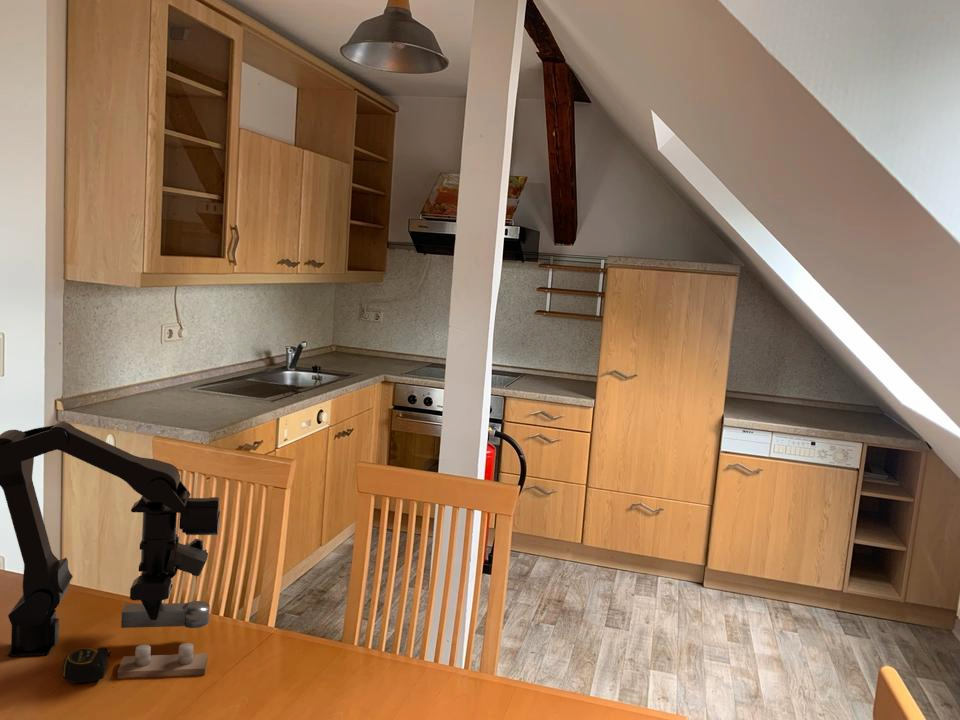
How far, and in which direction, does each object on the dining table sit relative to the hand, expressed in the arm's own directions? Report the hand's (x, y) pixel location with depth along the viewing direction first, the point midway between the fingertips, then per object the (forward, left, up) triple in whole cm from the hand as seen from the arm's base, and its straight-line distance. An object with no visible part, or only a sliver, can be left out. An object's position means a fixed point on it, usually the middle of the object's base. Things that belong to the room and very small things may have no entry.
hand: (155, 614), depth 141 cm
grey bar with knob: (+2, 0, -2) cm, 3 cm away
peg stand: (+3, -9, -6) cm, 11 cm away
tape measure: (-9, -10, -6) cm, 14 cm away
